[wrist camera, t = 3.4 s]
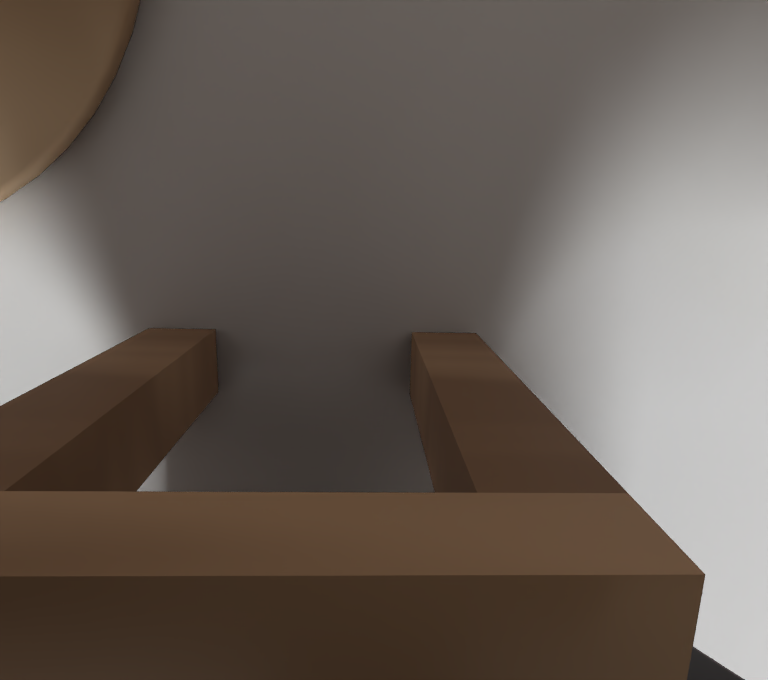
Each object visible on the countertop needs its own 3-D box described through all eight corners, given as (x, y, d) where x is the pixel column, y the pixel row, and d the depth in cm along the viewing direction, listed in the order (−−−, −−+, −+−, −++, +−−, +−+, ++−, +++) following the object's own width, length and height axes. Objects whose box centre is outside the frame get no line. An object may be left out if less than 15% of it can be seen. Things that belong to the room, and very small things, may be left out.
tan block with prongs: (458, 611, 11) (596, 1190, 5) (169, 612, 11) (-130, 1226, 4) (475, 333, 10) (704, 573, 3) (148, 327, 10) (-326, 577, 3)
